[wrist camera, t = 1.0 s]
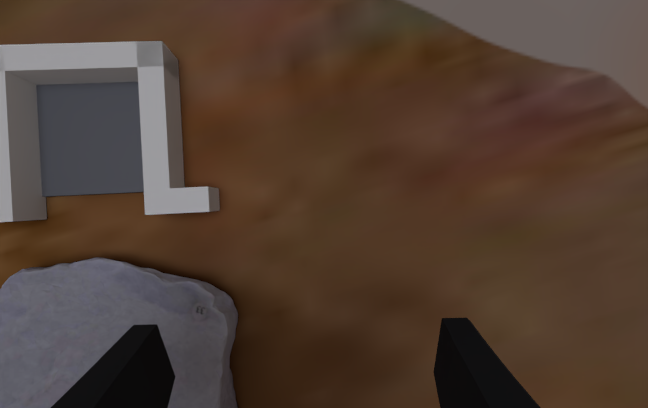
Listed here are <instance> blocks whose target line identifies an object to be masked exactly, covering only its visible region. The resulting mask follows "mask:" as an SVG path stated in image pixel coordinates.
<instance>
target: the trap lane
mask: <svg viewBox="0 0 648 408" xmlns="http://www.w3.org/2000/svg"><path fill="white" fill-rule="evenodd" d="M133 192H144V203H145V215H153V214H172V213H192V212H211V211H220V204H219V188H213V187H188V188H185V184H184V164H183V145H182V125H181V106H180V86H179V67H178V59H177V58H176V57H175V56H174V54H173V53H172V52H171V51H170V50H169V49H168V47H167V46H166V45H165V44H164V43H163V42H162V41H141V42H100V43H60V44H19V45H0V222H13V221H28V220H44V219H47V209H46V197H47V196H69V195H90V194H111V193H133Z"/></svg>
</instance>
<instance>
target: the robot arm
mask: <svg viewBox="0 0 648 408" xmlns="http://www.w3.org/2000/svg"><path fill="white" fill-rule="evenodd" d="M434 376H435V381H436V387H437V392H438V397H439V402H440V407H441V408H540V407H539V405H538V404H537V403H536V402H535V401H534V400H533V398H532V397H531V396H530V395H529V394H528V393H527V391H526V390H525V389H524V388H523V387H522V386H521V385H520V383H519V382H518V381H517V380H516V379H515V377H514V376H513V375H512V374H511V373H510V371H509V370H508V369H507V368H506V367H505V365H504V364H503V363H502V362H501V360H500V359H499V358H498V357H497V355H496V354H495V353H494V352H493V350H492V349H491V348H490V346H489V345H488V344H487V343H486V341H485V340H484V339H483V337H482V336H481V335H480V333H479V332H478V331H477V329H476V328H475V327H474V325H473V324H472V323H471V321H470V320H468V319H467V318H442V322H441V328H440V335H439V341H438V348H437V354H436V361H435V367H434ZM174 380H175V374H174V371H173V368H172V365H171V362H170V360H169V357H168V354H167V351H166V348H165V345H164V343H163V340H162V337H161V334H160V331H159V328H158V325H157V324H149V325H133V326H132V327H131V328H130V329H129V330H128V331H127V332H126V333H125V334H124V335H123V336H122V337H121V338H120V339H119V340H118V341H117V342H116V343H115V344H114V345H113V346H112V347H111V348H110V349H109V350H108V351H107V352H106V353H105V354H104V355H103V356H102V357H101V358H100V359H99V360H98V361H97V362H96V363H95V364H94V365H93V366H92V367H91V368H90V369H89V370H88V371H87V372H86V373H85V374H84V375H83V376H82V377H81V378H80V379H79V380H78V381H77V382H76V383H75V384H74V385H73V386H72V387H71V388H70V389H69V390H68V391H67V392H66V393H65V394H64V395H63V396H62V397H61V398H60V399H59V400H58V401H57V402H56V403H55V404H54V405H53V406H52V407H51V408H168V404H169V401H170V397H171V393H172V388H173V384H174Z"/></svg>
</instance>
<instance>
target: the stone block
mask: <svg viewBox="0 0 648 408" xmlns="http://www.w3.org/2000/svg"><path fill="white" fill-rule="evenodd" d="M237 323H238V312H237V309H236V308H235V306H234V303H233V300H232V298H231V297H230V296H229V295H228V294H226V293H225V292H224V291H221V290H219V289H218V288H216V287H215V286H213V285H211V284H209V283H207V282H203V281H200V280H196V279H191V278H186V277H180V276H175V275H171V274H166V273H162V272H159V271H157V270H155V269H151V268H142V267H138V266H135V265H132V264H129V263H127V262H120V261H115V260H111V259H106V258H92V259H88V260H82V261H79V262H74V263H72V264H69V263H63V264H57V265H54V266H52V267H46V268H43V267H36V268H33V267H31V268H29V269H22V270H21V271H18V272H17V273H16V274H14V275H12V276H10V277H9V278H8V280H7V281H6V282H5V283H4V284H3V285H2V288H1V289H0V408H51V407H52V406H53V405H54V404H55V403H56V402H57V401H58V400H59V399H60V398H61V397H62V396H63V395H64V394H65V393H66V392H67V391H68V390H69V389H70V388H71V387H72V386H73V385H74V384H75V383H76V382H77V381H78V380H79V379H80V378H81V377H82V376H83V375H84V374H85V373H86V372H87V371H88V370H89V369H90V368H91V367H92V366H93V365H94V364H95V363H96V362H97V361H98V360H99V359H100V358H101V357H102V356H103V355H104V354H105V353H106V352H107V351H108V350H109V349H110V348H111V347H112V346H113V345H114V344H115V343H116V342H117V341H118V340H119V339H120V338H121V337H122V336H123V335H124V334H125V333H126V332H127V331H128V330H129V329H130V328H131V327H132V326H133V325H149V324H157V325H158V328H159V331H160V334H161V337H162V340H163V343H164V345H165V348H166V351H167V354H168V357H169V360H170V362H171V365H172V368H173V371H174V374H175V380H174V384H173V388H172V393H171V397H170V401H169V404H168V408H237V402H236V399H235V391H234V387H233V377H232V372H231V369H230V354H231V350H232V345H233V343H234V340H235V335H236V326H237Z"/></svg>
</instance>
